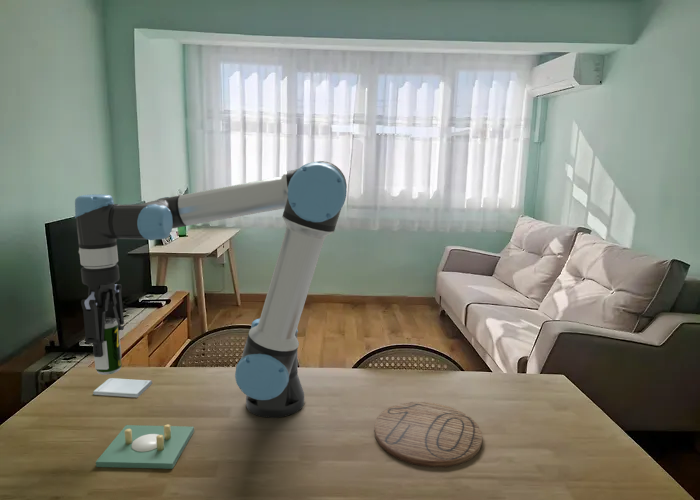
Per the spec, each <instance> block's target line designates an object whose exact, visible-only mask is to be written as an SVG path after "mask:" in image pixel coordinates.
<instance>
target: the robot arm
mask: <svg viewBox="0 0 700 500" xmlns="http://www.w3.org/2000/svg"><path fill="white" fill-rule="evenodd" d="M346 179H347V178H346V177H345V175H344V172H343V171H342V170H341V169H340V168H339V167H338V166H336V165H335V164H334V163H331V162H328V161H325V160H319V161H313V162H312V161H311V162H307V163H306V164H304V165H302V166H301V167H299V168H295V169H292V170H286V171H284V173H283V174H282V176H277V177H272V178H267V179H262V180H261V179H260V180H256V181H250V182H245V183H239V184H235V185H230V186H229V185H228V186H223V187H219V188H212V189H207V190H201V191H195V192H191V193H185V194H180V195H173V196H165V197H161V198H158V199H155V200H151V201H147V202H143V203H138V204H119V203H118V204H117V203H115V201H114V198H113V196H112V195H111V194H102V193H101V194H100V193H99V194H96V193H94V194H83V195H82V194H81V195H79V196H77V197H76V198H75V200H74V214H75V215H74V219H75V222H76V223H75V225H76V231H77V232H76V233H77V240H78V251H77V252H78V254H79V260H80V261H79V262H80V265H81V266H82V267H81V268H80V274H81V283H82V284H83V285H85V286H87V287H88V293H87V295H88V297H87V298H86V299H81V300H80V305H81V308H82V312H83V313H82V314H83V324H84V326H83V327H84V337H85V339H84V340H85V343H86V344H92V347H93V349H92V351H93V360H94V370H96V369H103V370H107V369H109V363H108V352H107V341H104V329H105V317H113V318H116V319H117V322H118V329H119V331H123V330H124V328H125V326H124V323H125V317H124V311H123V310H124V308H123V307H124V306H123V298H122V289H123V288H122V287H123V286H122V284H119V283H118V284H117V282H119V281H120V266H119V265H118V262H119V255H118V254H119V252H118V243H117V240H146V241H147V240H149V241H154V240H165V239H167V238H169V237H170V234H171V233H172V230H173V229H177V228H179V229H180V228H183V227H187V226H194V225H199V224H204V223H211V222H215V221H220V220H226V219H232V218H237V217H244V216H250V215H254V214H256V215H257V214H260V213H267V212H272V211H278V210H283V214H282V218H283V219H282V220H283V221H284V223H285V224H286V228H285V232H284V235H283V238H282V242H281V245H280V249H279V252H278V256H277V259H276V262H275V265H274V269H273V273H272V276H271V280H270V284H269V286H268V290H267V293H266V297H265V300H264V303H263V307H262V309H261V310H262V311H261V314H260V317H259V318H256V319H254V320H253V321H251V327H250V329H249V331H248V335H247V338H246V341H245V345H244V348H243V352H242V355H241V357H240V360H239V361H238V362H237V364H236V367H235V373H234V378H235V382H236V386H237V387H238V388H239V389H240V390H241V392H242V393H243V394H244V395H245V405H246V409H247V411H249V412H250V413H251V414H253V415H255V416H257V417H261V418H274V419H275V418H282V417H283V418H284V417H287V416H290V415H293V414H296V413H297V412H298V411H300V410H301V409H302V408H303V407H304V405H305V392H304V388H303V385H302V383H301V380H300V378H299V374H298V368H299V367H298V349H299V344H300V341H299V340H298V333H299V330H298V326H299V323H300V320H301V316H302V314H303V310H304V307H305V303H306V300H307V297H308V293H309V291H310V288H311V284H312V281H313V278H314V275H315V271H316V268H317V265H318V261H319V258H320V256H321V251H322V249H323V245H324V241H325V239H326V237H327V236H330V235H331V234H334V232H335V230H336V227H337V225H338V220H339V218H340V214H341V211H342V208H343V206H344V204H345V202H346V198H347V189H348V186H347V180H346ZM115 283H116V284H115ZM119 340H120V341H121V335H120V332H119ZM121 346H122V345H121V344H120V352H121V353H122V347H121ZM121 358H122V355H121Z"/></svg>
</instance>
